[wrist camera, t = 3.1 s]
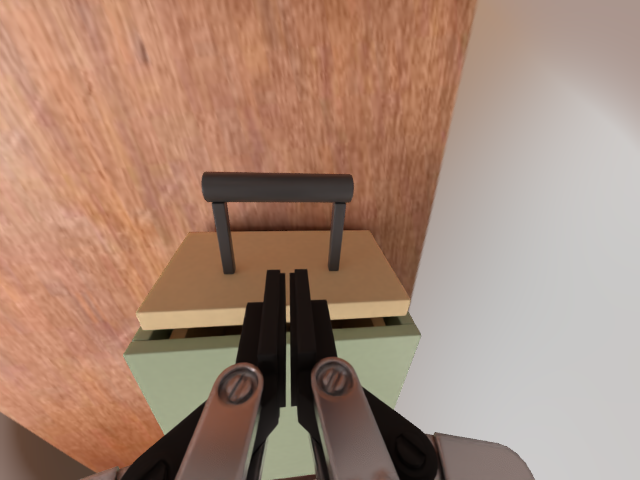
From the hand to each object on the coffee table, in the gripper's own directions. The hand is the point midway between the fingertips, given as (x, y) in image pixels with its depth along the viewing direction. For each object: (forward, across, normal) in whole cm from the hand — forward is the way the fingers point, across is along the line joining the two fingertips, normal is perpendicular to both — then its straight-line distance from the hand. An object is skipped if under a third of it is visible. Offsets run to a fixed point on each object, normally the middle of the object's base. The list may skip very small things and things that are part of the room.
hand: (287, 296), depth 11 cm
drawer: (+9, 0, +6) cm, 11 cm away
